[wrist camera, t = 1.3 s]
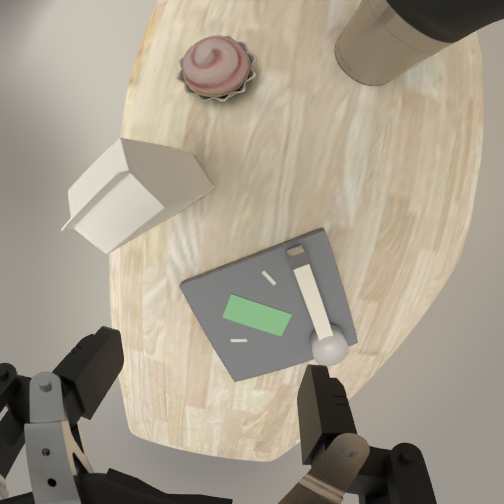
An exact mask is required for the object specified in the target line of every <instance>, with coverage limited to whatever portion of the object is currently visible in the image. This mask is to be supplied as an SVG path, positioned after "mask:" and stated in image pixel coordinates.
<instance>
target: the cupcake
mask: <svg viewBox="0 0 504 504" xmlns="http://www.w3.org/2000/svg"><path fill="white" fill-rule="evenodd" d="M256 59H257V57H256V56H254V55H253V54H251V53H249V52H248V46H247V43H244V42H236V41H235V40H234V39H233V38H232V37H231V36H211V37H207V38H204V39H202V40H200V41H199V42H197V43H195V44H194V45H193V46H191V47H190V48H189V50H188V51H187V52H186V54H185V56H184V57H183V58H182V59H181V60H180V61H179V64H180V66H181V71H180V73H179V74H178V76H177V79H178V80H179V81H181V82H183V83H184V84H185V92H186V93H187V94H196V95H197V96H198V98H199V99H200V101H202V102H206V101H208V100H211V99H215V100H219V101H222V102H225V101H226V100H227V99H228V98H231V97H233V96H235V95H236V94H238V93H242V92H244V91H245V87H246V82H248V81H249V80H251V79H253V78H254V77H255V76H256V73H255V71H254V69H253V68H252V66H253V64H254V63H255V61H256Z"/></svg>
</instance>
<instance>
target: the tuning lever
mask: <svg viewBox="0 0 504 504" xmlns="http://www.w3.org/2000/svg"><path fill="white" fill-rule="evenodd" d="M286 252H287V256H288V259H289V262H290V264H291V267H292V269H293V271H294V273H295V276H296V279H297V281H298V284H299V286H300V289H301V292H302V294H303V297H304V300H305V303H306V305H307V308H308V311H309V313H310V316H311V319H312V322H313V324H314V327H315V331H314V332H313V333H312V335H311V337H310V344H311V348H312V352H313V357H314V359H315V361H316V362H317V363H318V364H320V365H325V366H331V365H335V364H337V363H339V362H341V361H342V360H343V359H344V358H345V357H346V355H347V353H348V345H347V342H346V340H345V338H344V335H343V333H342V331H341V329H340V328H339V327H337V326H335V325H331V324H329V321H328V318H327V315H326V312H325V309H324V306H323V303H322V300H321V297H320V294H319V291H318V288H317V285H316V282H315V279H314V276H313V274H312V271H311V268H310V265H309V261H308V258H307V256H306V253H305V250H304V248H303V246H302V245H299V246H297V247H294V248H291V249H289V250H286Z"/></svg>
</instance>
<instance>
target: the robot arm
mask: <svg viewBox="0 0 504 504" xmlns="http://www.w3.org/2000/svg"><path fill="white" fill-rule="evenodd" d="M502 19H504V0H362V2H361V4H360V5H359V7H358V8H357V10H356V11H355V13H354V15H353V16H352V18H351V19H350V21H349V23H348V24H347V26H346V28H345V29H344V31H343V32H342V34H341V36H340V37H339V39H338V41H337V43H336V46H335V54H336V58H337V61H338V63H339V65H340V66H341V68H342V69H343V70H344V71H345V72H346V73H347V74H348V75H349V76H350V77H351V78H353V79H354V80H356V81H358V82H360V83H363V84H365V85H370V86H379V85H383V84H385V83H387V82H389V81H391V80H392V79H394V78H395V77H397V76H399V75H400V74H402V73H404V72H405V71H407V70H408V69H410V68H412V67H413V66H415V65H417V64H418V63H420V62H422V61H423V60H425V59H427V58H428V57H430V56H432V55H434V54H435V53H437V52H439V51H440V50H442V49H444V48H446V47H448V46H449V45H451V44H453V43H455V42H457V41H459V40H461V39H462V38H464V37H466V36H468V35H469V34H471V33H473V32H475V31H476V30H478V29H480V28H482V27H484V26H486V25H489V24H491V23H493V22H496V21H499V20H502ZM123 364H124V354H123V348H122V341H121V334H120V332H119V330H116V329H112V328H108V327H105V326H102V327H101V328H100V329H99V330H98V331H97V332H96V334H95V335H93V334H90V335H88V336H86V337H84V338H83V339H82V340H80V342H79V343H78V344H77V345H76V347H74V348H73V349H72V350H71V353H69V354H68V355H67V356H66V357H65V358H64V359H63V360H62V361H61V362H60V364H59V365H58V366H57V367H56V368H55V369H54V370H53V372H41V373H38V374H36V375H35V376H34V377H33V378H30V377H25V376H20V375H18V374H17V371H16V369H15V367H14V366H13V365H11V364H9V363H1V364H0V412H1V411H2V410H3V408H4V407H5V406H6V407H7V408H8V411H7V413H6V414H5V416H4V417H3V418H2V420H1V421H0V504H232V499H226V498H219V497H212V496H206V495H201V494H197V495H195V494H192V495H191V494H188V495H187V494H167V493H164V492H162V491H160V490H158V489H156V488H154V487H152V486H150V485H148V484H146V483H145V482H143V481H141V480H139V479H138V478H135V477H132V476H130V475H127V474H124V473H121V472H119V471H116V470H114V469H111V468H109V470H108V472H107V474H105V473H94V471H93V468H92V466H91V464H90V462H89V460H88V457H87V453H86V450H85V446H84V442H83V438H82V433H81V429H80V425H79V422H78V420H79V419H80V417H81V416H82V417H84V418H87V419H89V420H90V419H91V418H92V416H93V414H94V413H95V411H96V409H97V408H98V406H99V405H100V403H101V401H102V400H103V398H104V397H105V395H106V393H107V392H108V390H109V389H110V387H111V385H112V384H113V382H114V381H115V379H116V378H117V376H118V374H119V373H120V371H121V370H122V367H123ZM346 396H347V395H346V392H345V389H344V386H343V385H342V384H341V382H340V381H339V380H338V379H337V378H330V376H329V372H328V368H327V366H325V365H310V364H309V365H308V366H307V368H306V371H305V374H304V376H303V379H302V382H301V385H300V388H299V391H298V397H297V406H298V416H299V427H300V439H301V451H302V464H303V465H311V469H310V471H309V472H308V473H307V474H306V475H305V476H304V477H303V478H302V479H301V480H300V481H299V482H298V483H297V484H296V485H295V486H294V487H293V489H292V490H291V491H290V492H289V493H288V494H287V495H286V496H285V497H284V498H283V499H282V500H281V501H280V502H279V503H278V504H341V502H342V501H343V495H344V494H345V492H346V493H352V494H358V496H359V504H437V503H436V499H435V495H434V491H433V488H432V484H431V481H430V477H429V475H428V471H427V468H426V464H425V461H424V458H423V455H422V453H421V451H420V450H419V449H418V448H417V447H416V446H415V445H413V444H410V443H400V444H398V445H396V446H395V447H394V448H393V449H392V450H387V449H380V448H375V447H372V446H369V445H368V443H367V441H366V440H365V439H364V438H363V437H361V436H359V435H358V434H357V431H356V428H355V424H354V420H353V417H352V413H351V409H350V406H349V402H348V399H347V398H346ZM24 444H25V445H26V454H27V462H28V469H29V475H30V481H31V486H32V492H29V493H26V494H22V495H18V496H14V497H11V498H6V497H7V496H8V494H9V492H8V490H7V488H6V482H5V478H6V476H7V474H8V473H9V471H10V469H11V467H12V465H13V463H14V461H15V459H16V458H17V456H18V454H19V452H20V450H21V449H22V447H23V445H24ZM5 498H6V499H5Z"/></svg>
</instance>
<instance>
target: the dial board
mask: <svg viewBox="0 0 504 504" xmlns="http://www.w3.org/2000/svg"><path fill="white" fill-rule="evenodd" d="M299 245H302V246H303V248H304V250H305V253H306V256H307V258H308V261H309V265H310V268H311V271H312V274H313V276H314V279H315V282H316V285H317V288H318V291H319V294H320V297H321V300H322V303H323V306H324V309H325V312H326V315H327V318H328V321H329V324H331V325H335V326H337V327H339V328H340V329H341V331H342V333H343V335H344V338H345V340H346V342H347V345H348V346H351V345H354V344H356V343H358V341H357V337H356V333H355V329H354V325H353V321H352V318H351V314H350V310H349V307H348V303H347V300H346V296H345V293H344V289H343V286H342V282H341V279H340V276H339V273H338V269H337V266H336V263H335V260H334V257H333V254H332V250H331V247H330V244H329V241H328V238H327V235H326V232H325V230H324V229H323V228H321V229H319V230H316V231H313V232H311V233H308V234H306V235H303V236H300V237H298V238H295V239H293V240H290V241H287V242H285V243H282V244H280V245H277V246H274V247H272V248H269V249H267V250H264V251H261V252H259V253H256V254H253V255H251V256H248V257H246V258H243V259H240V260H238V261H235V262H233V263H230V264H227V265H225V266H222V267H220V268H217V269H214V270H212V271H209V272H206V273H204V274H201V275H199V276H196V277H193V278H191V279H188V280H185V281H183V282H182V283H181V284H180V285H179V287H180V288H181V290H182V292H183V294H184V296H185V298H186V300H187V302H188V303H189V305H190V307H191V309H192V311H193V313H194V314H195V316H196V318H197V320H198V322H199V323H200V325H201V327H202V329H203V330H204V332H205V334H206V336H207V337H208V339H209V341H210V342H211V344H212V346H213V348H214V349H215V351H216V353H217V354H218V356H219V358H220V359H221V361H222V362H223V364H224V366H225V367H226V369H227V371H228V372H229V374H230V375H231V377H232V378H233V380H234V382H237V381H241V380H245V379H249V378H253V377H257V376H260V375H264V374H268V373H271V372H275V371H278V370H281V369H285V368H288V367H291V366H294V365H298V364H301V363H304V362H307V361H310V360H313V359H314V357H313V352H312V348H311V344H310V337H311V335H312V333H313V332H314V331H315V327H314V324H313V322H312V319H311V316H310V313H309V311H308V308H307V305H306V303H305V300H304V297H303V294H302V292H301V289H300V286H299V284H298V281H297V279H296V276H295V273H294V271H293V269H292V267H291V264H290V262H289V259H288V256H287V252H286V250H289V249H291V248H294V247H297V246H299Z"/></svg>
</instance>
